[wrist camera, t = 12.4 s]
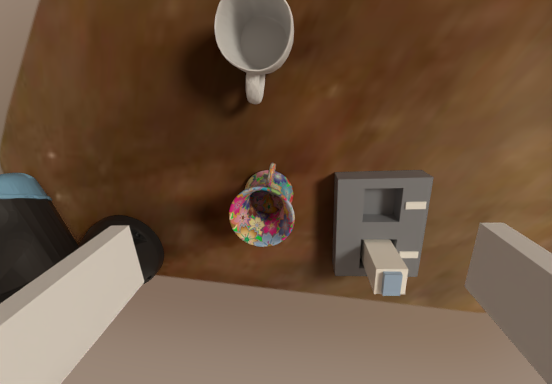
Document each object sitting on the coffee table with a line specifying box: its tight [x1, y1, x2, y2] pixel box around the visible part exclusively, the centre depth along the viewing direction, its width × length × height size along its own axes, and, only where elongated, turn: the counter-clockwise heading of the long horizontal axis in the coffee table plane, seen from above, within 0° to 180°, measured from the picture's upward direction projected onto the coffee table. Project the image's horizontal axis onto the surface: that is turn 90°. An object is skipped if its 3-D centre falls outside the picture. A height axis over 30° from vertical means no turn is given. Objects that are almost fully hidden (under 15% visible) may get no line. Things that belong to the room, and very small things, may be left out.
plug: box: [360, 239, 408, 296], centre depth 42 cm, size 4×4×11 cm
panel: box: [332, 170, 433, 277], centre depth 45 cm, size 14×18×4 cm
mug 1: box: [215, 0, 294, 104], centre depth 35 cm, size 13×9×10 cm
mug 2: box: [229, 163, 295, 247], centre depth 41 cm, size 12×9×11 cm
